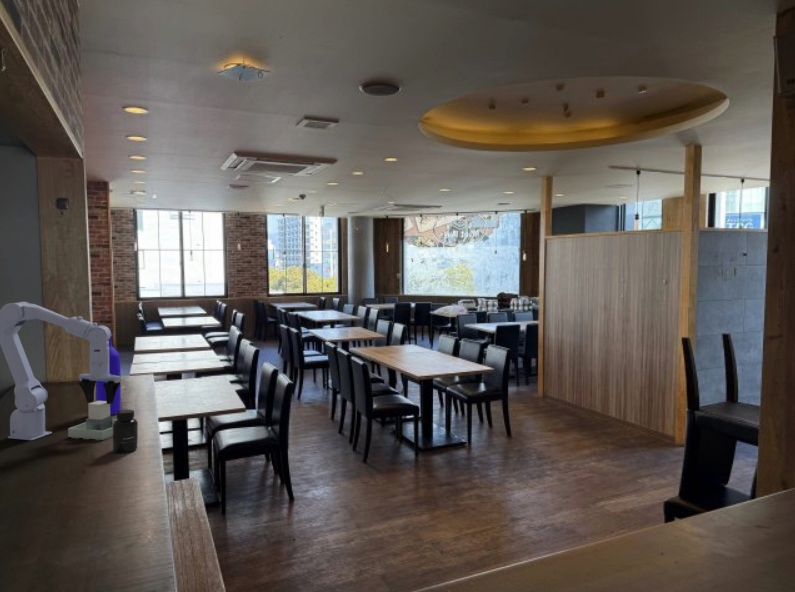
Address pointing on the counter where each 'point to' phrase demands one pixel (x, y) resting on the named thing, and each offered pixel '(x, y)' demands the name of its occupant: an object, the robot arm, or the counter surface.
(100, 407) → the carton
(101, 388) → the bottle
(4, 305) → the robot arm
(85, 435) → the tray
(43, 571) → the counter surface
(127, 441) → the supplement bottle
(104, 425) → the grey square block
